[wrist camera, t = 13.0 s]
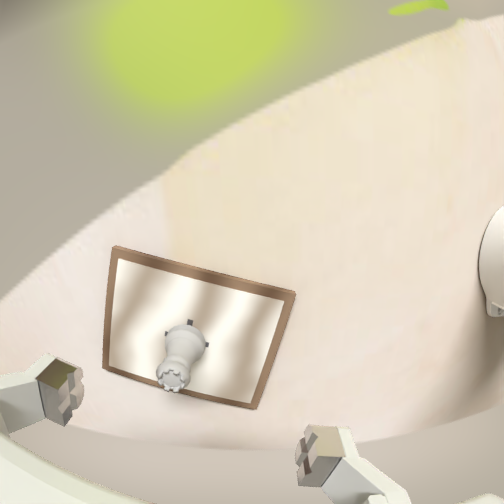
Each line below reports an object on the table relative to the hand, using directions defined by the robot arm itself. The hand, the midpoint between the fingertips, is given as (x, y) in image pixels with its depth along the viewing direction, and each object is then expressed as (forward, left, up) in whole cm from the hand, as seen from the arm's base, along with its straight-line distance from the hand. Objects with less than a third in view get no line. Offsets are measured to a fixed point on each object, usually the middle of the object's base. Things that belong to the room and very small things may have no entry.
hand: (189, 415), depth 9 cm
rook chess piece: (+2, +10, -22) cm, 24 cm away
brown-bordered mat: (+2, +10, -23) cm, 25 cm away
